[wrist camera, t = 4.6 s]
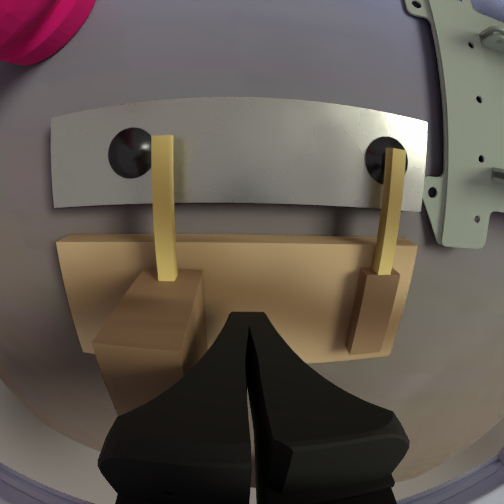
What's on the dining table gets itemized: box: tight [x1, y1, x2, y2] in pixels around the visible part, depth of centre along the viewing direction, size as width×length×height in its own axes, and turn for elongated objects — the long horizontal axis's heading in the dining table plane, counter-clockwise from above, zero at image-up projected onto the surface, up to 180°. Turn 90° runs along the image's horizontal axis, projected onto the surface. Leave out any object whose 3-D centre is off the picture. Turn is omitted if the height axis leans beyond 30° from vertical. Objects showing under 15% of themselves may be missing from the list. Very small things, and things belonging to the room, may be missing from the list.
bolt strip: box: [51, 97, 427, 212], centre depth 11 cm, size 4×16×1 cm, turn 89°
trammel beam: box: [56, 148, 418, 363], centre depth 12 cm, size 10×16×2 cm, turn 89°
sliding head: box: [91, 135, 208, 416], centre depth 9 cm, size 9×2×5 cm, turn 179°
